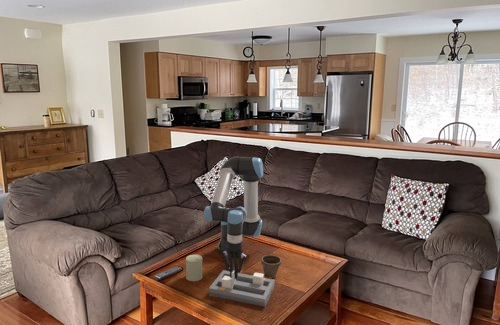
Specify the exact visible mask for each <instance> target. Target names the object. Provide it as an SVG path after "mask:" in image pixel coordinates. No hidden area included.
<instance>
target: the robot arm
mask: <svg viewBox="0 0 500 325" xmlns="http://www.w3.org/2000/svg"><path fill="white" fill-rule="evenodd" d="M262 160H263V159H262V158H259V157H253V156H252V157H250V156H238V155H237V156H232V157H230V158H228V159H227V160H226V161H224V162H223V164H222V165H221V167H220V169H219V178H218V182H217V185H216V186H215V187H216V188H215V190H214V195H213V197H212V200H211V204H210V205H209V206H205V208H204V210H203V218H204V220H205V221H209V222H219V223H220V240H219V242H218V245H217V250H218V252H220V253H221V255H222V257H223V260H224V265H225V271H229V272H230V278H232V281H231V285H235V283H236V279H237V277H238V273H241V272H242V270H243V266H244V262H245V260H246V258H247V254H244V252H243V237H250V238H259V237H260V235H261V230H262V225H263V219H261V217H260V215H259V212H258V211H259V209H258V205H259V204H258V203H259V189H258V188H259V181H261V178H263V176H264V163H263V161H262ZM236 176H238V177H239V176H240V177H241V181H243V206H244V207H243V206H236V207H234V208H230V207H225V206H226V203H227V200H228V196H229V193H230V189H231V186H232V183H233V182H232V181H233V179H235V177H236ZM240 258H241V259H240ZM239 259H240V262H239Z"/></svg>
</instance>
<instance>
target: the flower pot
mask: <svg viewBox="0 0 500 325" xmlns="http://www.w3.org/2000/svg"><path fill="white" fill-rule="evenodd" d="M260 262H261V265H262V269H263V274H264V277H265V278H268V277H271V278H270V279H272V277H273V278H276V276H277V274H278V271H279V267H280V266H281V265H282V259H281V257H279V256H277V255H273V254H266V255H263V256H262V257H261V259H260Z"/></svg>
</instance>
